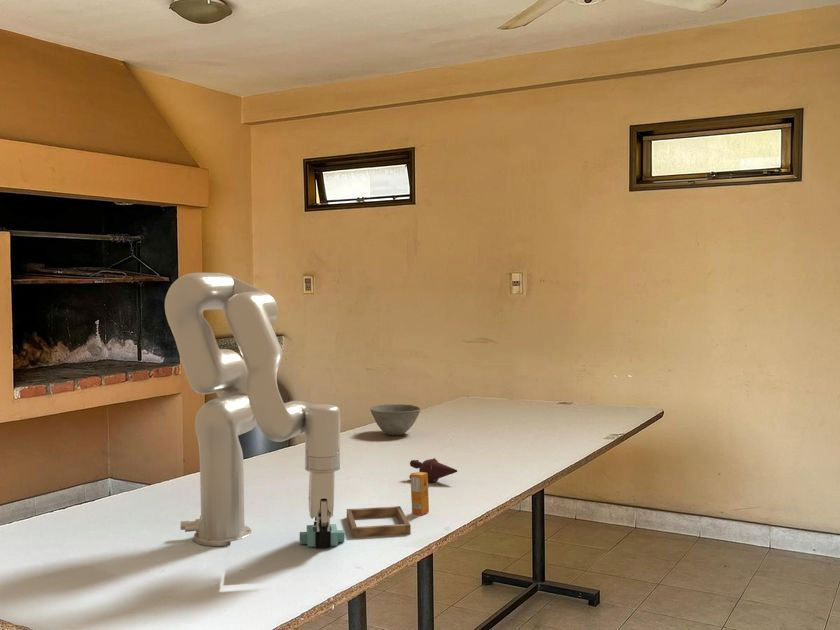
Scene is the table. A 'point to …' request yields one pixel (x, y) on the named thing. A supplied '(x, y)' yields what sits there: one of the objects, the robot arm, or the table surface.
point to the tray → (378, 530)
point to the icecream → (432, 469)
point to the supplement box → (419, 493)
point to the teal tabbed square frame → (310, 535)
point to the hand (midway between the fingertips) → (322, 543)
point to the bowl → (395, 417)
